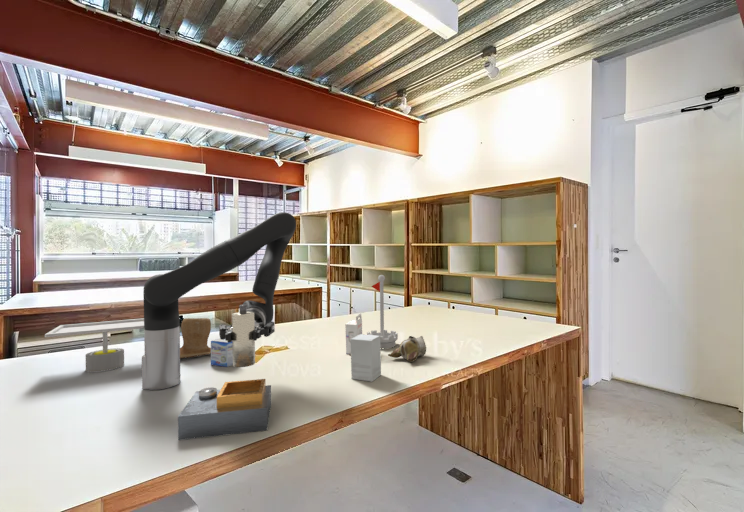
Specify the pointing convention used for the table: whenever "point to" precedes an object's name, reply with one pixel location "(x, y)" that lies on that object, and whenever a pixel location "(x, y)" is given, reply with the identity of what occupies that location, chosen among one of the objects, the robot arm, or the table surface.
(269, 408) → the grey base with tray
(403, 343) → the ceramic sculpture
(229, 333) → the robot arm
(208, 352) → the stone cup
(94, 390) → the table surface
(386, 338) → the flag stand
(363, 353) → the supplement box
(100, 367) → the solar panel model
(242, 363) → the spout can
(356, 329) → the ink cartridge box
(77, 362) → the table surface
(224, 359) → the medicine box
